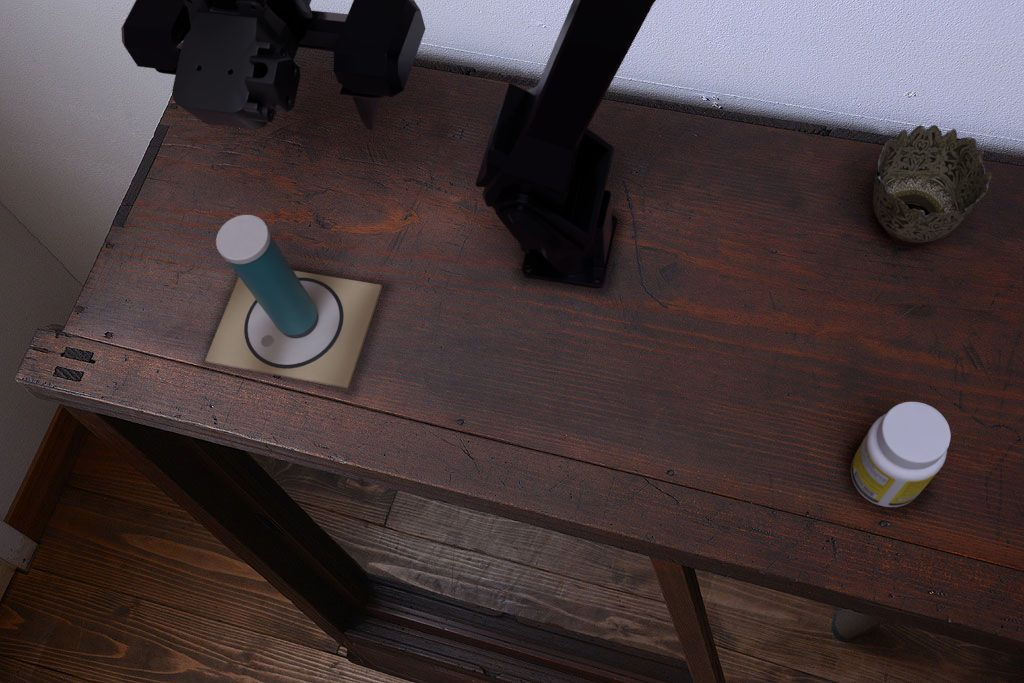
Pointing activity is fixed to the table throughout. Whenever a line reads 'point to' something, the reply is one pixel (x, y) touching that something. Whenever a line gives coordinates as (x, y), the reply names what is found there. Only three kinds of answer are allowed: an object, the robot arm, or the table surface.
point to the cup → (927, 184)
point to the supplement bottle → (901, 454)
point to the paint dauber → (267, 274)
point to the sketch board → (310, 358)
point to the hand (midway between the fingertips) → (311, 117)
